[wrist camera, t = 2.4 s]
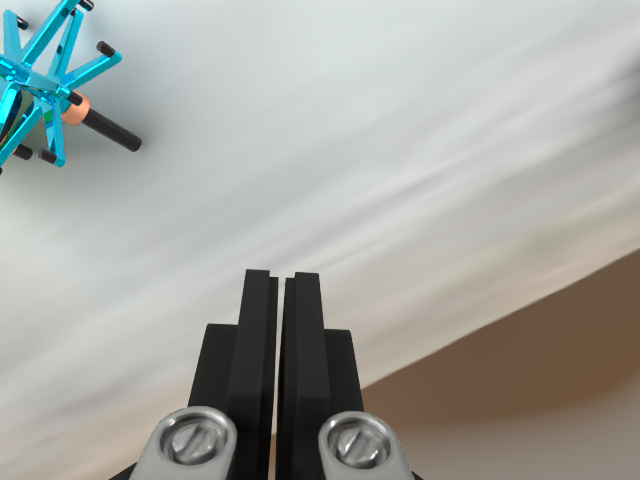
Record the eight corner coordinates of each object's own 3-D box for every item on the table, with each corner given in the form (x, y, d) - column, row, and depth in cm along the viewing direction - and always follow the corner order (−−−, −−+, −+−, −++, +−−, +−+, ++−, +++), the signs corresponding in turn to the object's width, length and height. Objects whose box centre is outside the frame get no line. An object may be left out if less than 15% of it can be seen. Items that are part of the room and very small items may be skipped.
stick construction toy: (76, -64, 19) (54, 105, 16) (200, 49, 25) (201, 189, 22) (-97, 64, 24) (-139, 212, 21) (40, 134, 30) (22, 258, 27)
